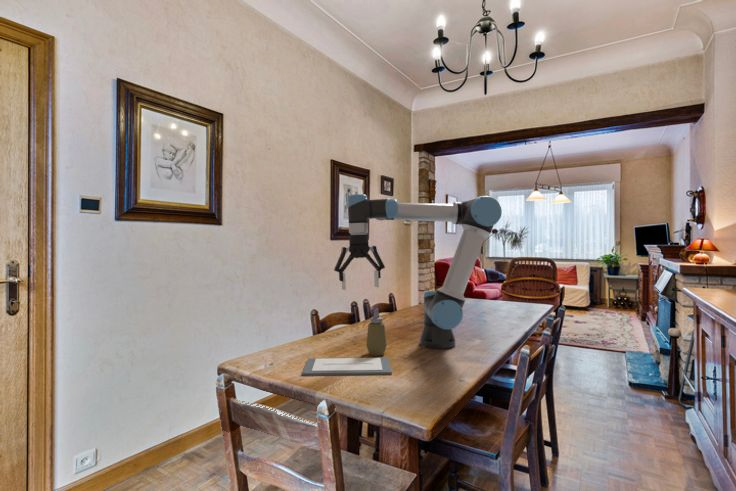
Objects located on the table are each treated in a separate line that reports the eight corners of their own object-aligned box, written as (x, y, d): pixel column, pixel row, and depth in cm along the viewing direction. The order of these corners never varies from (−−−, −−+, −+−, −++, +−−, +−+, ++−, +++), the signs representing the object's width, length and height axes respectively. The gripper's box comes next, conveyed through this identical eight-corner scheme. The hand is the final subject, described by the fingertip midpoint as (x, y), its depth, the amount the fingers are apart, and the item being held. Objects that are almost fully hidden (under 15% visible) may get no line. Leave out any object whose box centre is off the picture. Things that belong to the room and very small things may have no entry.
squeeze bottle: (384, 357, 148) (384, 311, 147) (364, 356, 149) (364, 310, 149) (388, 351, 156) (388, 307, 155) (368, 350, 157) (368, 306, 157)
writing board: (387, 359, 146) (387, 356, 146) (391, 374, 130) (391, 371, 130) (308, 360, 145) (308, 357, 145) (302, 375, 129) (302, 372, 129)
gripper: (384, 233, 159) (386, 284, 159) (325, 235, 151) (327, 289, 151) (391, 233, 152) (393, 286, 152) (329, 235, 144) (332, 291, 144)
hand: (360, 288), depth 152 cm, fingers open, 13 cm apart
